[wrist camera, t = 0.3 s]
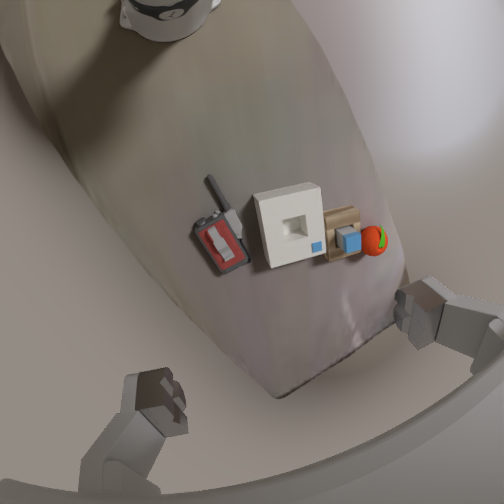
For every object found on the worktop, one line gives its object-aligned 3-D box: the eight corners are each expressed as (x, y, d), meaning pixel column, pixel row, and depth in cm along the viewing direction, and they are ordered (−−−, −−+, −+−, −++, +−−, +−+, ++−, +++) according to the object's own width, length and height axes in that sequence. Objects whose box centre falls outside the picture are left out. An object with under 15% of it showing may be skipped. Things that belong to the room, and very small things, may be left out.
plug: (330, 225, 61) (346, 238, 55) (344, 222, 61) (361, 233, 55) (331, 240, 62) (346, 253, 56) (345, 236, 63) (361, 249, 56)
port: (252, 194, 55) (259, 201, 51) (309, 181, 57) (320, 187, 52) (264, 257, 62) (271, 269, 57) (316, 243, 63) (326, 253, 58)
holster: (318, 212, 60) (326, 218, 56) (350, 204, 61) (359, 210, 57) (321, 253, 64) (329, 261, 61) (352, 244, 65) (360, 252, 62)
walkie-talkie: (258, 253, 62) (212, 170, 52) (263, 262, 58) (214, 174, 48) (222, 273, 62) (172, 194, 52) (225, 284, 58) (171, 200, 49)
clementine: (356, 217, 62) (373, 228, 56) (380, 217, 64) (397, 228, 58) (351, 249, 66) (366, 262, 59) (374, 248, 67) (390, 260, 61)
